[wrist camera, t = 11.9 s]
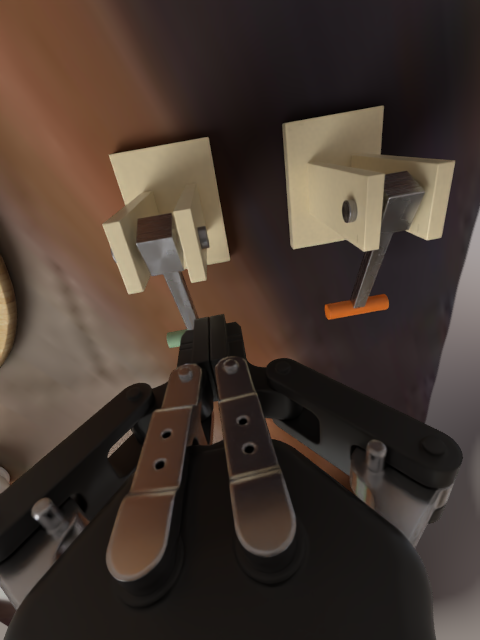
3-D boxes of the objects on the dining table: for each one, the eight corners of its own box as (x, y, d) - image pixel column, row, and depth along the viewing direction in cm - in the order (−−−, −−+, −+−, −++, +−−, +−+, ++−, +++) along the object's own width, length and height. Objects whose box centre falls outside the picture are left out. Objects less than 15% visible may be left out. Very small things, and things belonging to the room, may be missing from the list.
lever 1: (226, 323, 30) (229, 344, 29) (170, 333, 30) (171, 355, 29) (197, 207, 19) (200, 232, 18) (111, 223, 19) (107, 249, 18)
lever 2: (377, 296, 30) (388, 316, 29) (322, 306, 30) (330, 326, 29) (433, 165, 19) (453, 186, 18) (346, 180, 19) (361, 203, 18)
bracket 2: (369, 231, 33) (458, 280, 21) (290, 246, 33) (336, 303, 21) (377, 106, 27) (503, 81, 16) (281, 123, 27) (337, 110, 15)
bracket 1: (229, 257, 33) (242, 320, 21) (150, 271, 32) (119, 342, 21) (208, 136, 27) (209, 133, 15) (112, 154, 27) (42, 163, 15)
